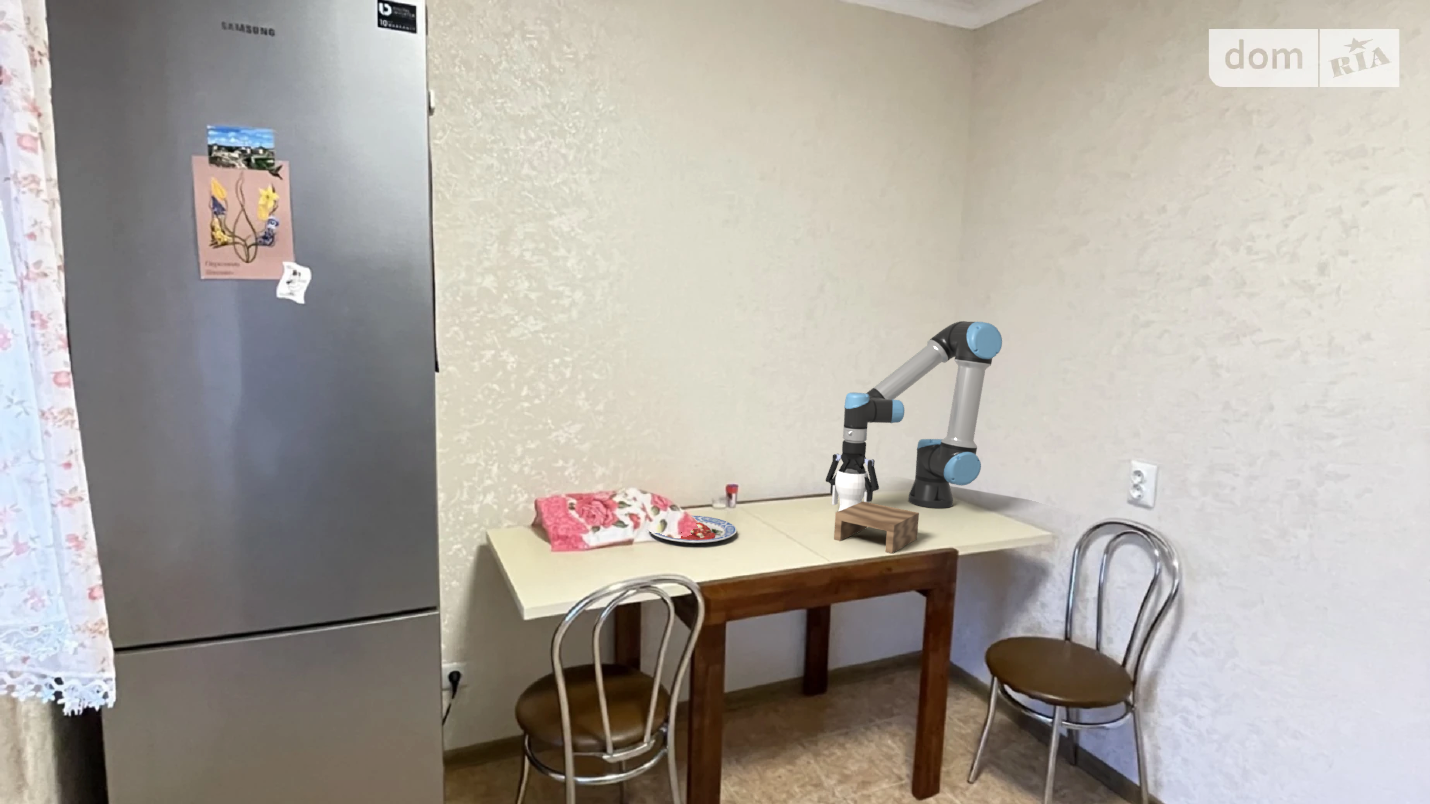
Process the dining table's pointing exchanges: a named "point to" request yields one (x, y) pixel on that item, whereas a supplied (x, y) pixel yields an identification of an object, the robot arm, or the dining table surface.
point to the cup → (850, 487)
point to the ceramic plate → (706, 531)
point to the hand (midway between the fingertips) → (850, 507)
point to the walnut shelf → (878, 523)
